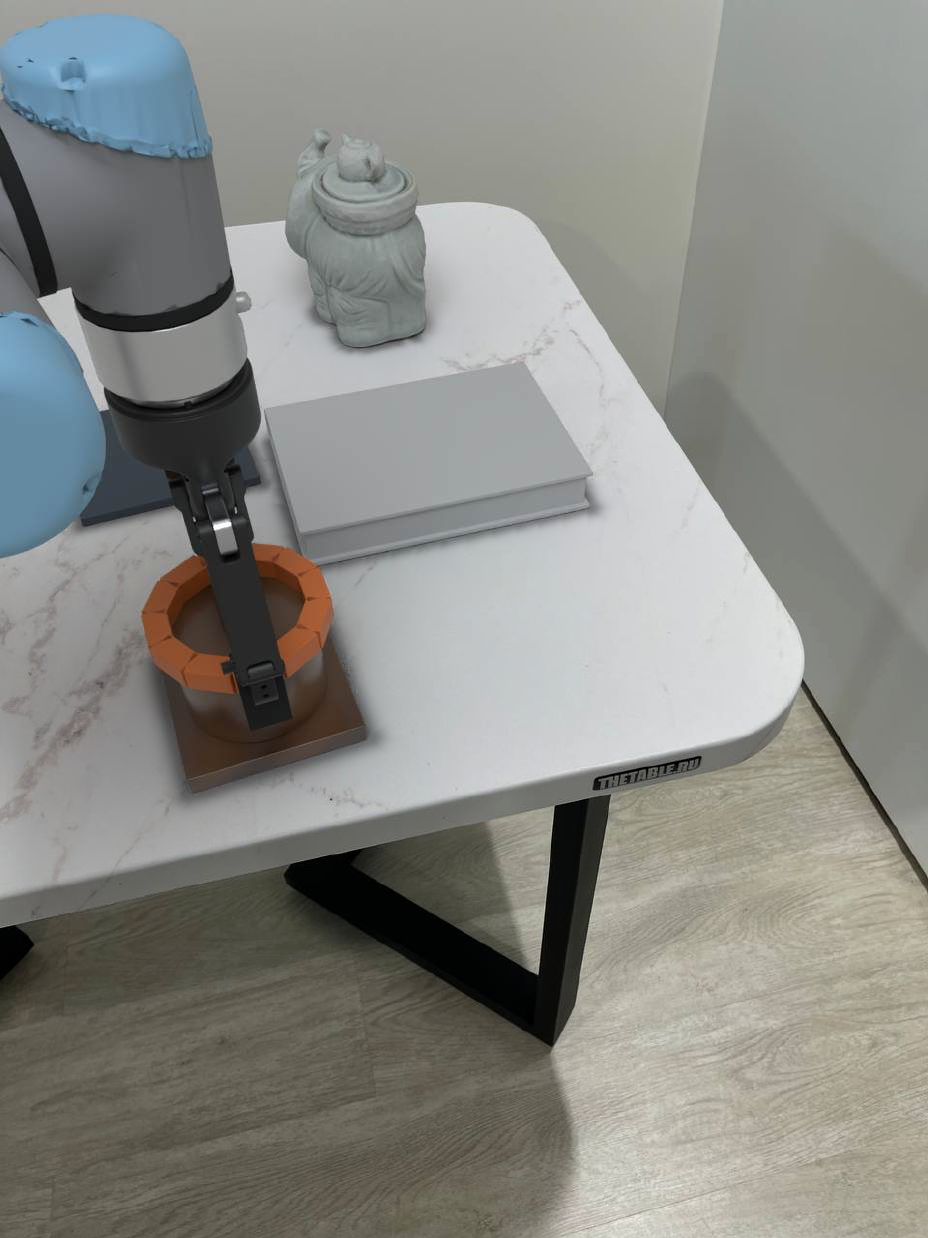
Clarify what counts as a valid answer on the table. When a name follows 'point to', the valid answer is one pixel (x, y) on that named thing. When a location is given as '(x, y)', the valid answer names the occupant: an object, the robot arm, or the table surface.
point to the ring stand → (218, 721)
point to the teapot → (359, 240)
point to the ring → (207, 668)
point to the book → (423, 462)
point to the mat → (138, 482)
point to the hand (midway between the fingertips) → (248, 652)
